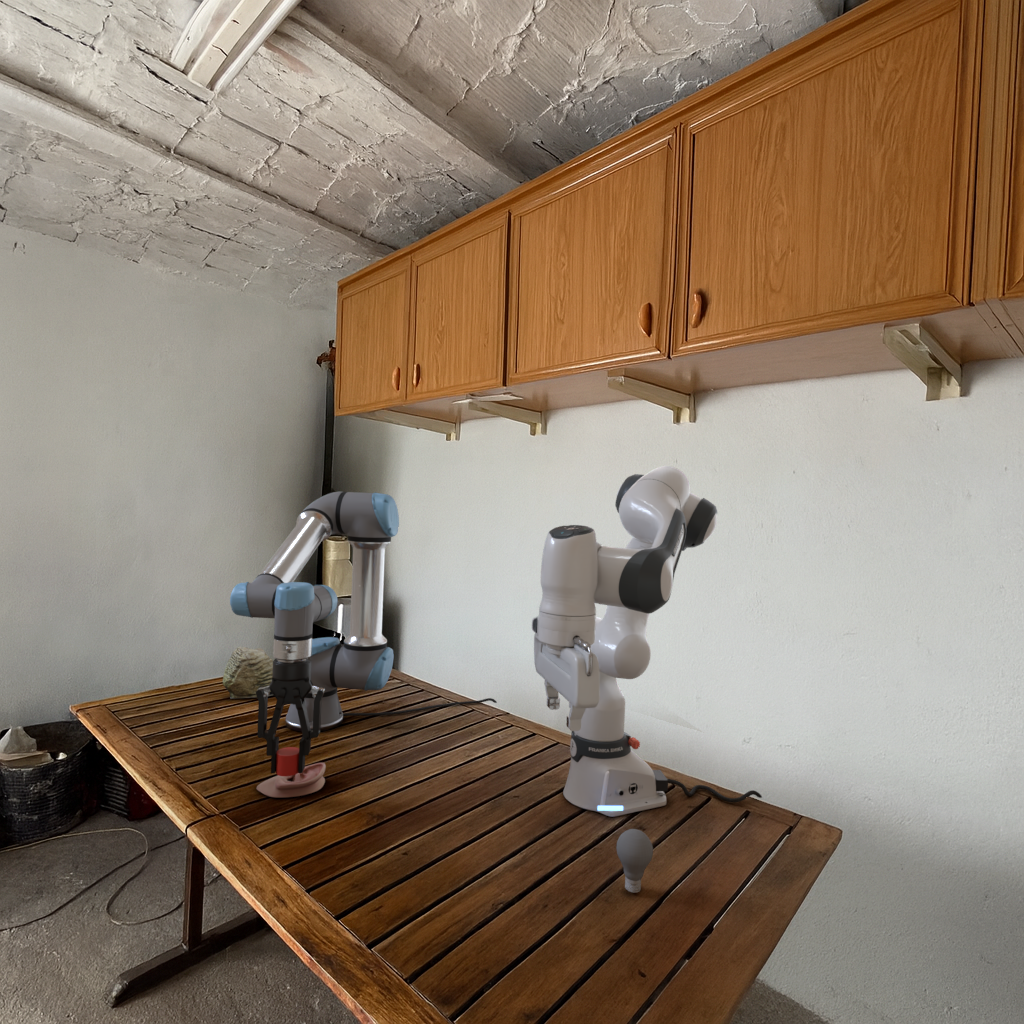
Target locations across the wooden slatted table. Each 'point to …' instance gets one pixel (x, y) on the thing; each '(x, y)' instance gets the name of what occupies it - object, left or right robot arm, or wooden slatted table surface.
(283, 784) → the anatomical model
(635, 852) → the light bulb
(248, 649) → the fossil
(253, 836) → the wooden slatted table surface
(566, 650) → the right robot arm
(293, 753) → the red cylinder
